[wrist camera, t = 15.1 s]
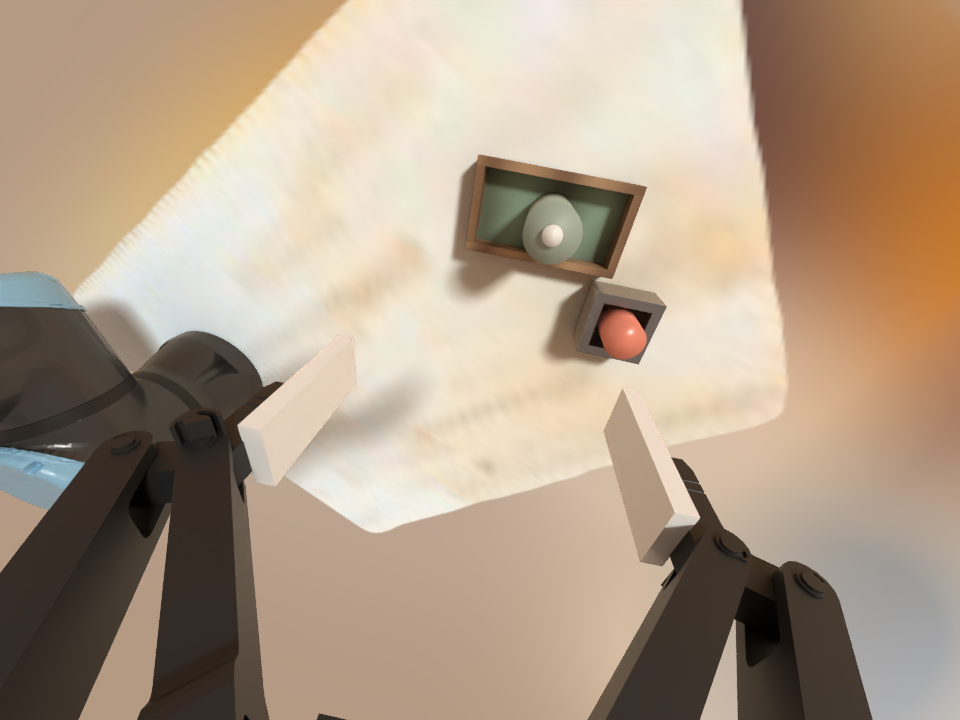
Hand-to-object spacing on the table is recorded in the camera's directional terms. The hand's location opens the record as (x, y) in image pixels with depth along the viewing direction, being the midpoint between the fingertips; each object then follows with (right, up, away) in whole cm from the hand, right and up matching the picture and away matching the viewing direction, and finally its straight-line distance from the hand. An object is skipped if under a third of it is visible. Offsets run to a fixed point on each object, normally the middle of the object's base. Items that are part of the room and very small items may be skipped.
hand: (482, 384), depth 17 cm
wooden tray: (+7, +16, +18) cm, 26 cm away
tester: (+15, +6, +23) cm, 28 cm away
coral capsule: (+15, +6, +22) cm, 27 cm away
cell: (+7, +16, +18) cm, 25 cm away
